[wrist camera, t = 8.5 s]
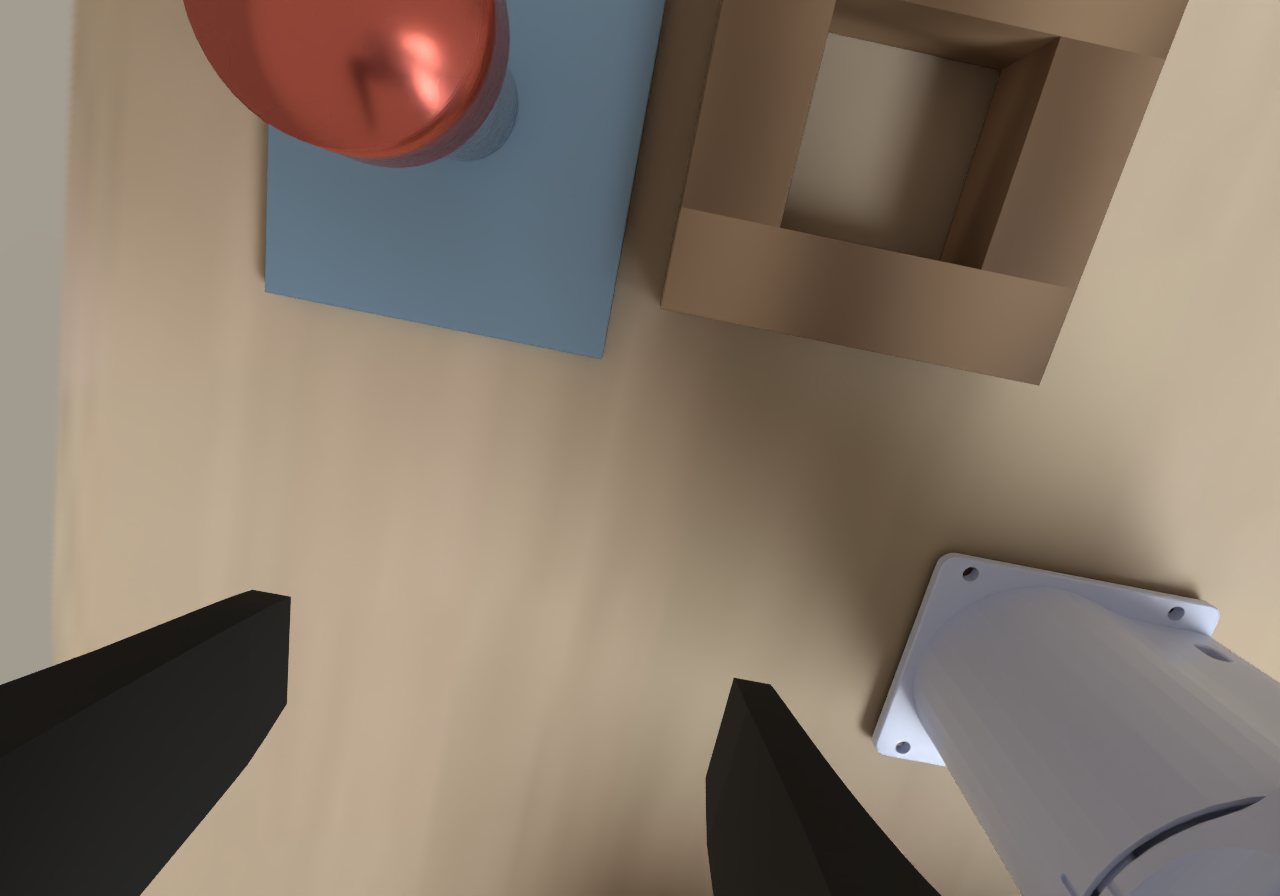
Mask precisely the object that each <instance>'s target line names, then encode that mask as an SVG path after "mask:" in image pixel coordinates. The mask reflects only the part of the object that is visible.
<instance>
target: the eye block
mask: <svg viewBox="0 0 1280 896" xmlns="http://www.w3.org/2000/svg"><path fill="white" fill-rule="evenodd" d="M1188 1H1189V0H721V2H720V7H719V12H718V17H717V22H716V27H715V32H714V37H713V42H712V47H711V52H710V57H709V62H708V67H707V72H706V77H705V82H704V87H703V92H702V97H701V102H700V107H699V112H698V117H697V122H696V127H695V131H694V136H693V141H692V146H691V151H690V156H689V161H688V166H687V171H686V176H685V181H684V186H683V191H682V196H681V201H680V206H679V211H678V216H677V221H676V226H675V231H674V236H673V241H672V246H671V251H670V256H669V261H668V266H667V271H666V276H665V281H664V286H663V291H662V296H661V301H660V306H661V309H665V310H670V311H675V312H680V313H685V314H690V315H695V316H700V317H705V318H710V319H714V320H719V321H724V322H729V323H734V324H739V325H744V326H749V327H754V328H759V329H764V330H769V331H774V332H778V333H783V334H788V335H793V336H798V337H803V338H808V339H813V340H818V341H823V342H828V343H833V344H838V345H842V346H847V347H852V348H857V349H862V350H867V351H872V352H877V353H882V354H887V355H892V356H897V357H902V358H906V359H911V360H916V361H921V362H926V363H931V364H936V365H941V366H946V367H951V368H956V369H961V370H966V371H970V372H975V373H980V374H985V375H990V376H995V377H1000V378H1005V379H1010V380H1015V381H1020V382H1025V383H1030V384H1034V385H1039V384H1040V382H1041V379H1042V377H1043V374H1044V372H1045V369H1046V366H1047V364H1048V361H1049V359H1050V356H1051V354H1052V351H1053V348H1054V346H1055V343H1056V341H1057V338H1058V335H1059V333H1060V330H1061V328H1062V325H1063V323H1064V320H1065V317H1066V315H1067V312H1068V310H1069V307H1070V305H1071V302H1072V299H1073V297H1074V294H1075V292H1076V289H1077V287H1078V284H1079V281H1080V279H1081V276H1082V274H1083V271H1084V268H1085V266H1086V263H1087V261H1088V258H1089V256H1090V253H1091V250H1092V248H1093V245H1094V243H1095V240H1096V238H1097V235H1098V232H1099V230H1100V227H1101V225H1102V222H1103V220H1104V217H1105V214H1106V212H1107V209H1108V207H1109V204H1110V202H1111V199H1112V196H1113V194H1114V191H1115V189H1116V186H1117V183H1118V181H1119V178H1120V176H1121V173H1122V171H1123V168H1124V165H1125V163H1126V160H1127V158H1128V155H1129V153H1130V150H1131V147H1132V145H1133V142H1134V140H1135V137H1136V135H1137V132H1138V129H1139V127H1140V124H1141V122H1142V119H1143V116H1144V114H1145V111H1146V109H1147V106H1148V104H1149V101H1150V98H1151V96H1152V93H1153V91H1154V88H1155V86H1156V83H1157V80H1158V78H1159V75H1160V73H1161V70H1162V68H1163V65H1164V62H1165V60H1166V57H1167V55H1168V52H1169V49H1170V47H1171V44H1172V42H1173V39H1174V37H1175V34H1176V31H1177V29H1178V26H1179V24H1180V21H1181V19H1182V16H1183V13H1184V11H1185V8H1186V6H1187V3H1188ZM828 32H830V33H835V34H839V35H844V36H848V37H853V38H857V39H862V40H866V41H871V42H875V43H880V44H884V45H889V46H893V47H898V48H903V49H907V50H912V51H916V52H921V53H925V54H930V55H934V56H939V57H943V58H948V59H952V60H957V61H961V62H966V63H970V64H975V65H979V66H984V67H989V68H993V69H998V70H1001V72H1000V76H999V79H998V82H997V85H996V88H995V91H994V94H993V97H992V100H991V103H990V107H989V110H988V113H987V116H986V119H985V122H984V125H983V128H982V131H981V135H980V138H979V141H978V144H977V147H976V150H975V153H974V156H973V159H972V162H971V166H970V169H969V172H968V175H967V178H966V181H965V184H964V187H963V190H962V193H961V197H960V200H959V203H958V206H957V209H956V212H955V215H954V218H953V221H952V225H951V228H950V231H949V234H948V237H947V240H946V243H945V246H944V249H943V252H942V256H941V259H940V261H937V260H932V259H927V258H923V257H918V256H913V255H908V254H904V253H899V252H894V251H889V250H884V249H880V248H875V247H870V246H865V245H861V244H856V243H851V242H846V241H841V240H837V239H832V238H827V237H822V236H818V235H813V234H808V233H803V232H798V231H794V230H789V229H784V228H780V225H781V221H782V217H783V213H784V209H785V205H786V201H787V197H788V193H789V189H790V185H791V181H792V177H793V172H794V168H795V164H796V160H797V156H798V152H799V148H800V144H801V140H802V136H803V132H804V128H805V124H806V120H807V116H808V112H809V108H810V104H811V100H812V96H813V91H814V87H815V83H816V79H817V75H818V71H819V67H820V63H821V59H822V55H823V51H824V47H825V43H826V39H827V35H828Z"/></svg>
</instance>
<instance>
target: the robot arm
mask: <svg viewBox="0 0 1280 896" xmlns="http://www.w3.org/2000/svg"><path fill="white" fill-rule="evenodd" d="M969 567H973V570H972V572H971V573H970V574H968V575H966V576H963V572H964V571H965V569H967V568H969ZM290 604H291V597H289V596H283V595H278V594H272V593H267V592H261V591H256V590H250V591H247V592H244V593H241V594H238V595H235V596H232V597H230V598H227V599H224V600H222V601H219V602H216V603H214V604H211V605H209V606H206V607H203V608H201V609H198V610H196V611H193V612H191V613H188V614H186V615H183V616H181V617H178V618H176V619H173V620H171V621H168V622H166V623H163V624H161V625H158V626H156V627H153V628H151V629H148V630H146V631H143V632H141V633H138V634H136V635H133V636H131V637H128V638H126V639H123V640H121V641H118V642H115V643H113V644H110V645H108V646H105V647H103V648H100V649H98V650H95V651H93V652H90V653H87V654H84V655H82V656H79V657H76V658H73V659H71V660H68V661H65V662H62V663H60V664H57V665H54V666H52V667H49V668H46V669H44V670H41V671H38V672H35V673H32V674H30V675H27V676H24V677H21V678H19V679H16V680H13V681H10V682H8V683H5V684H2V685H0V896H140V895H141V893H142V892H143V891H144V890H145V889H146V887H147V886H148V885H149V884H150V883H151V881H152V880H153V879H154V878H155V877H156V875H157V874H158V873H159V872H160V871H161V869H162V868H163V867H164V866H165V865H166V863H167V862H168V861H169V860H170V858H171V857H172V856H173V855H174V854H175V852H176V851H177V850H178V849H179V848H180V846H181V845H182V844H183V843H184V842H185V840H186V839H187V838H188V837H189V836H190V834H191V833H192V832H193V831H194V830H195V828H196V827H197V826H198V825H199V824H200V822H201V821H202V820H203V819H204V818H205V816H206V815H207V814H208V813H209V811H210V810H211V809H212V808H213V807H214V805H215V804H216V803H217V802H218V800H219V799H220V798H221V797H222V796H223V794H224V793H225V792H226V791H227V789H228V788H229V787H230V786H231V785H232V783H233V782H234V781H235V780H236V778H237V777H238V776H239V775H240V773H241V772H242V771H243V770H244V768H245V767H246V766H247V765H248V763H249V762H250V760H251V759H252V757H253V756H254V754H255V753H256V751H257V750H258V748H259V747H260V745H261V744H262V742H263V741H264V739H265V738H266V736H267V734H268V733H269V731H270V730H271V728H272V726H273V725H274V723H275V722H276V720H277V718H278V717H279V715H280V714H281V712H282V710H283V709H284V707H285V706H286V704H287V684H288V657H289V630H290ZM1172 608H1174V609H1173V611H1172V612H1170V613H1168V612H1169V611H1170V610H1171V609H1172ZM1219 617H1220V614H1219V610H1218V609H1217V608H1216V607H1215V606H1213V605H1211V604H1210V603H1208V602H1205V601H1203V600H1198V599H1193V598H1188V597H1183V596H1177V595H1172V594H1167V593H1162V592H1157V591H1151V590H1146V589H1141V588H1136V587H1131V586H1125V585H1120V584H1115V583H1110V582H1105V581H1099V580H1094V579H1089V578H1084V577H1079V576H1073V575H1068V574H1063V573H1058V572H1053V571H1047V570H1042V569H1037V568H1032V567H1027V566H1021V565H1016V564H1011V563H1006V562H1001V561H995V560H990V559H985V558H980V557H975V556H969V555H964V554H959V553H948V554H945V555H943V556H942V557H941V558H940V559H939V560H938V562H937V563H936V566H935V569H934V571H933V574H932V577H931V579H930V582H929V585H928V587H927V590H926V593H925V596H924V598H923V601H922V604H921V606H920V609H919V612H918V614H917V617H916V620H915V623H914V625H913V628H912V631H911V633H910V636H909V639H908V641H907V644H906V647H905V650H904V652H903V655H902V658H901V660H900V663H899V666H898V668H897V671H896V674H895V676H894V679H893V682H892V685H891V687H890V690H889V693H888V695H887V698H886V701H885V703H884V706H883V709H882V712H881V714H880V717H879V720H878V722H877V725H876V728H875V730H874V733H873V736H872V741H873V744H874V746H875V748H876V750H877V751H878V752H879V753H880V754H882V755H885V756H891V757H896V758H902V759H907V760H913V761H919V762H924V763H930V764H935V765H941V766H946V767H947V768H948V770H949V772H950V773H951V775H952V777H953V778H954V780H955V782H956V783H957V785H958V787H959V789H960V790H961V792H962V794H963V795H964V797H965V799H966V800H967V802H968V804H969V806H970V807H971V809H972V811H973V812H974V814H975V816H976V817H977V819H978V821H979V823H980V824H981V826H982V828H983V829H984V831H985V833H986V834H987V836H988V838H989V840H990V841H991V843H992V845H993V846H994V848H995V850H996V851H997V853H998V855H999V857H1000V858H1001V860H1002V862H1003V863H1004V865H1005V867H1006V869H1007V870H1008V872H1009V874H1010V875H1011V877H1012V879H1013V880H1014V882H1015V884H1016V886H1017V887H1018V889H1019V891H1020V892H1021V894H1022V896H1280V683H1279V682H1278V681H1276V680H1275V679H1273V678H1272V677H1270V676H1269V675H1267V674H1265V673H1264V672H1262V671H1261V670H1259V669H1258V668H1256V667H1255V666H1253V665H1252V664H1250V663H1249V662H1247V661H1246V660H1244V659H1243V658H1241V657H1240V656H1238V655H1237V654H1235V653H1234V652H1232V651H1231V650H1229V649H1228V648H1226V647H1225V646H1223V645H1222V644H1220V643H1219V642H1217V641H1216V640H1214V639H1213V638H1211V637H1210V636H1211V634H1212V632H1213V630H1214V629H1215V627H1216V625H1217V623H1218V621H1219ZM900 742H905V743H904V744H902V745H897V744H898V743H900ZM706 825H707V848H708V856H709V864H710V872H711V880H712V887H713V895H714V896H941V895H940V894H939V893H938V892H937V891H936V890H935V889H934V888H933V887H932V886H931V885H930V884H929V883H928V882H927V881H926V880H925V878H924V877H923V876H922V875H921V874H920V873H919V872H918V871H917V870H916V869H915V867H914V866H913V865H912V864H911V863H910V862H909V861H908V860H907V859H906V857H905V856H904V855H903V854H902V853H901V852H900V851H899V849H898V848H897V847H896V846H895V845H894V844H893V842H892V841H891V840H890V839H889V838H888V837H887V835H886V834H885V833H884V832H883V831H882V829H881V828H880V827H879V826H878V825H877V824H876V822H875V821H874V820H873V819H872V818H871V817H870V815H869V814H868V813H867V812H866V810H865V809H864V808H863V807H862V806H861V804H860V803H859V802H858V801H857V799H856V798H855V797H854V796H853V794H852V793H851V792H850V791H849V789H848V788H847V787H846V785H845V784H844V783H843V782H842V780H841V779H840V778H839V776H838V775H837V774H836V773H835V771H834V770H833V769H832V767H831V766H830V765H829V763H828V762H827V761H826V759H825V758H824V757H823V755H822V754H821V753H820V751H819V750H818V749H817V747H816V746H815V745H814V743H813V742H812V740H811V739H810V738H809V736H808V735H807V734H806V732H805V731H804V729H803V728H802V727H801V725H800V724H799V723H798V721H797V720H796V718H795V717H794V716H793V714H792V713H791V711H790V710H789V709H788V707H787V706H786V705H785V703H784V702H783V700H782V699H781V698H780V696H779V695H778V694H777V692H776V691H775V690H774V688H773V687H772V686H771V685H770V684H765V683H759V682H754V681H748V680H743V679H737V678H734V680H733V683H732V687H731V690H730V694H729V697H728V701H727V704H726V708H725V711H724V715H723V718H722V722H721V726H720V729H719V733H718V736H717V740H716V743H715V747H714V750H713V754H712V757H711V761H710V764H709V768H708V771H707V775H706Z"/></svg>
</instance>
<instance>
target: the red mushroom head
mask: <svg viewBox="0 0 1280 896" xmlns="http://www.w3.org/2000/svg"><path fill="white" fill-rule="evenodd" d="M183 1H184V5H185V8H186V12H187V15H188V18H189V21H190V23H191V26H192V28H193V31H194V33H195V36H196V38H197V40H198V42H199V44H200V46H201V48H202V50H203V51H204V53H205V55H206V57H207V59H208V60H209V62H210V63H211V65H212V66H213V68H214V69H215V71H216V72H217V74H218V75H219V77H220V78H221V80H222V81H223V82H224V83H225V84H226V86H227V87H228V88H229V89H230V90H231V92H232V93H233V94H234V95H235V96H236V97H237V98H238V99H239V100H240V101H241V102H242V103H243V104H244V105H245V106H246V107H247V108H248V109H249V110H251V111H252V112H253V113H255V114H256V115H257V116H259V117H260V118H261V119H262V120H264V121H265V122H266V123H268V124H270V125H271V126H273V127H275V128H276V129H278V130H280V131H281V132H283V133H285V134H287V135H290V136H292V137H294V138H297V139H299V140H301V141H304V142H306V143H309V144H312V145H315V146H317V147H320V148H323V149H326V150H328V151H331V152H334V153H337V154H339V155H342V156H345V157H348V158H350V159H353V160H356V161H359V162H362V163H366V164H369V165H373V166H379V167H386V168H408V167H415V166H421V165H424V164H427V163H431V162H434V161H436V160H438V159H441V158H443V157H445V156H446V157H448V158H451V159H454V160H459V161H475V160H479V159H483V158H485V157H488V156H490V155H491V154H493V153H495V152H496V151H497V150H498V149H500V148H501V147H502V146H503V145H504V143H505V142H506V141H507V140H508V138H509V136H510V135H511V133H512V131H513V129H514V126H515V123H516V120H517V115H518V105H519V103H518V92H517V86H516V83H515V79H514V77H513V75H512V72H511V70H510V68H509V67H508V59H509V46H510V29H509V17H508V10H507V4H506V0H183Z"/></svg>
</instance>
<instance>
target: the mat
mask: <svg viewBox="0 0 1280 896" xmlns="http://www.w3.org/2000/svg"><path fill="white" fill-rule="evenodd" d="M506 4H507V10H508V17H509V29H510V46H509V59H508V67H509V68H510V70H511V72H512V75H513V77H514V79H515V83H516V86H517V92H518V103H519V105H518V115H517V120H516V123H515V126H514V129H513V131H512V133H511V135H510V136H509V138H508V140H507V141H506V142H505V143H504V145H503V146H502V147H501V148H500V149H498V150H497V151H496V152H495V153H493V154H491V155H490V156H488V157H485V158H483V159H479V160H475V161H459V160H454V159H451V158H448V157H446V156H445V157H443V158H441V159H438V160H436V161H434V162H431V163H427V164H424V165H421V166H415V167H408V168H386V167H379V166H373V165H369V164H366V163H362V162H359V161H356V160H353V159H350V158H348V157H345V156H342V155H339V154H337V153H334V152H331V151H328V150H326V149H323V148H320V147H317V146H315V145H312V144H309V143H306V142H304V141H301V140H299V139H297V138H294V137H292V136H290V135H287V134H285V133H283V132H281V131H280V130H278V129H276V128H275V127H273V126H271V125H270V124H268V165H267V214H266V262H265V292H267V293H273V294H278V295H283V296H288V297H293V298H298V299H303V300H308V301H313V302H318V303H323V304H328V305H333V306H338V307H343V308H348V309H353V310H358V311H363V312H368V313H373V314H378V315H383V316H388V317H393V318H398V319H403V320H408V321H413V322H418V323H423V324H428V325H433V326H438V327H443V328H448V329H453V330H458V331H463V332H468V333H473V334H478V335H483V336H488V337H493V338H498V339H503V340H508V341H513V342H518V343H523V344H528V345H533V346H538V347H543V348H548V349H553V350H558V351H563V352H568V353H573V354H578V355H583V356H588V357H593V358H598V359H602V357H603V351H604V346H605V340H606V335H607V329H608V324H609V318H610V312H611V307H612V301H613V296H614V290H615V284H616V279H617V273H618V268H619V262H620V257H621V251H622V245H623V240H624V234H625V229H626V223H627V217H628V212H629V206H630V201H631V195H632V189H633V184H634V178H635V173H636V167H637V162H638V156H639V150H640V145H641V139H642V134H643V128H644V122H645V117H646V111H647V106H648V100H649V95H650V89H651V83H652V78H653V72H654V67H655V61H656V55H657V50H658V44H659V39H660V33H661V28H662V22H663V16H664V11H665V5H666V0H506Z"/></svg>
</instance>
